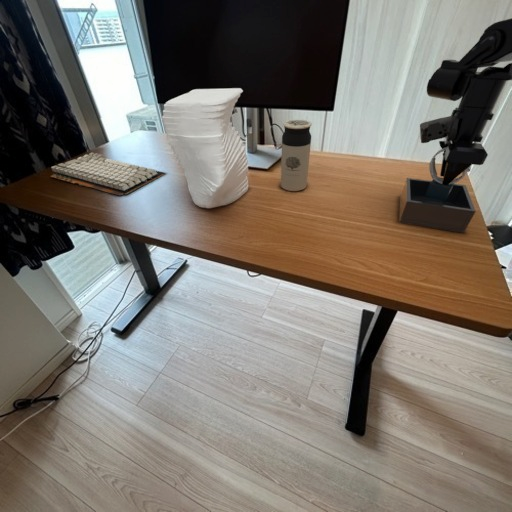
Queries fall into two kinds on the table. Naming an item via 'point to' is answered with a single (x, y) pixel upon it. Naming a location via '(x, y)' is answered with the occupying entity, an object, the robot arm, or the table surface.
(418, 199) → the basin
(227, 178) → the paper stack
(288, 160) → the travel mug
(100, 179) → the mechanical keyboard
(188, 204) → the table surface
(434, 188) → the watch
